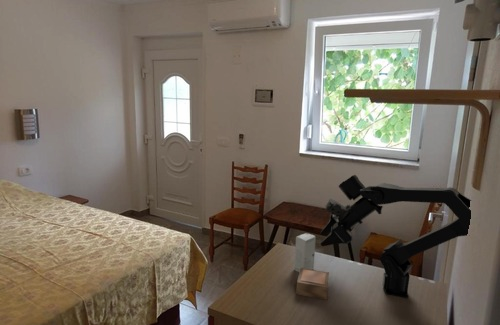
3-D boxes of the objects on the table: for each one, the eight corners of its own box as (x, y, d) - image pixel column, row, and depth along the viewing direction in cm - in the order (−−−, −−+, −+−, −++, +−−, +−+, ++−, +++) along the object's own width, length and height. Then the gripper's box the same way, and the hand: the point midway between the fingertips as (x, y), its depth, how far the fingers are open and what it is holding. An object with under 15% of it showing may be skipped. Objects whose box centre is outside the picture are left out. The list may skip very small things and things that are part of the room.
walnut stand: (328, 283, 106) (329, 271, 106) (326, 299, 98) (327, 286, 97) (299, 279, 109) (300, 267, 108) (296, 294, 100) (297, 281, 99)
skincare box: (303, 274, 111) (306, 241, 109) (293, 269, 115) (295, 236, 112) (314, 269, 116) (316, 236, 113) (303, 264, 119) (306, 232, 117)
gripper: (340, 185, 117) (306, 212, 121) (343, 201, 99) (303, 231, 103) (361, 209, 117) (326, 235, 121) (368, 229, 99) (327, 258, 103)
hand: (321, 239), depth 112 cm, fingers open, 9 cm apart
